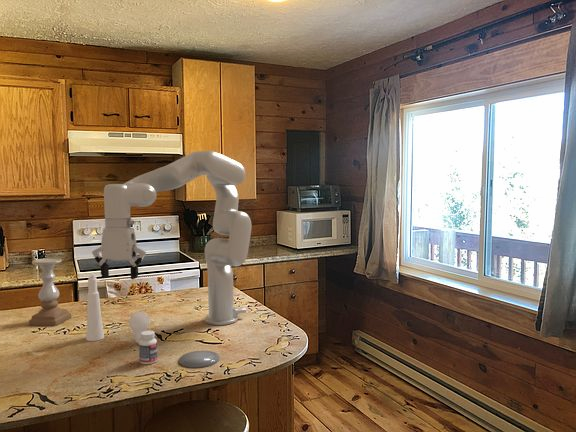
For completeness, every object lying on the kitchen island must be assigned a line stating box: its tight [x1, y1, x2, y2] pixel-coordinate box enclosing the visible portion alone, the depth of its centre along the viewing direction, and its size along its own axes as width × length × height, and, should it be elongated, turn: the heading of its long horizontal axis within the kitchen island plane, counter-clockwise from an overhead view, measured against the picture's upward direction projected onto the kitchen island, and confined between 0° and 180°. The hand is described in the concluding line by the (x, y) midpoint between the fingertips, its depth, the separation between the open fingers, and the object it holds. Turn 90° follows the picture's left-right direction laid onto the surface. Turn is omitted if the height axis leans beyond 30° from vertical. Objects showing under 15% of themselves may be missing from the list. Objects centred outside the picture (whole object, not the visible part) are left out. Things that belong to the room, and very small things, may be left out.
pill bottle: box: [138, 330, 158, 365], centre depth 146 cm, size 5×5×9 cm
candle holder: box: [28, 257, 72, 327], centre depth 185 cm, size 11×11×24 cm
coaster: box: [178, 350, 220, 369], centre depth 147 cm, size 12×12×1 cm
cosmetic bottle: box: [85, 274, 105, 342], centre depth 166 cm, size 6×6×22 cm
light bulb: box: [128, 310, 151, 345], centre depth 160 cm, size 7×7×11 cm
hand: (119, 277), depth 152 cm, fingers open, 9 cm apart
